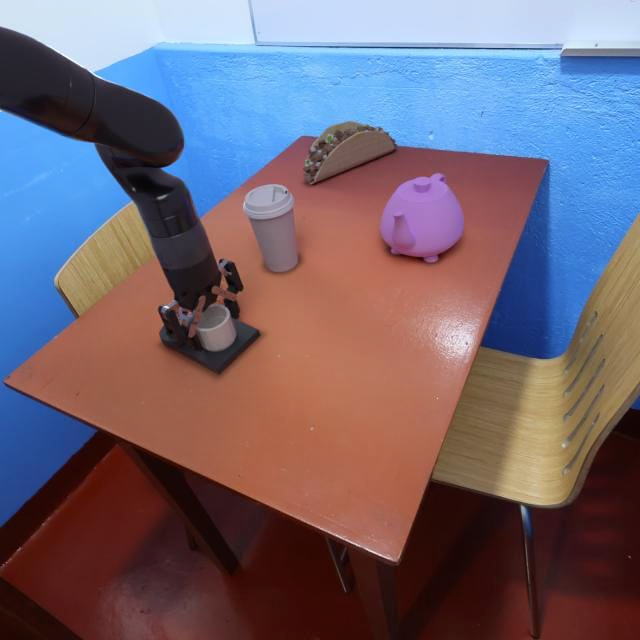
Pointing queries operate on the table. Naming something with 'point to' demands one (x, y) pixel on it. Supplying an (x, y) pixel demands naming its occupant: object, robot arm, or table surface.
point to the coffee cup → (273, 225)
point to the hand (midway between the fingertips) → (216, 332)
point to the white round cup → (216, 328)
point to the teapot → (422, 218)
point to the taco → (345, 149)
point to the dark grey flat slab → (218, 358)
